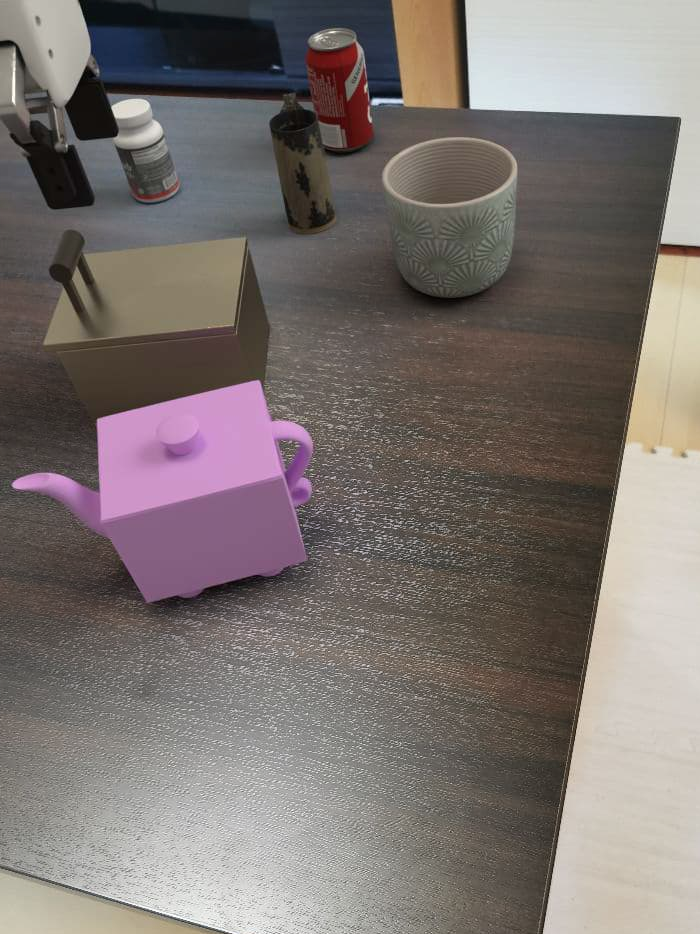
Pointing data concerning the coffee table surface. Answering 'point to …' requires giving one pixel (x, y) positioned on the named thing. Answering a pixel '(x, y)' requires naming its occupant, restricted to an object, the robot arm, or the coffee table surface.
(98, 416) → the tan open box
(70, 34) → the robot arm
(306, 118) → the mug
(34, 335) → the coffee table surface
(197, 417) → the teapot
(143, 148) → the pill bottle
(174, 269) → the lid
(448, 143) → the planter
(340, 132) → the soda can
